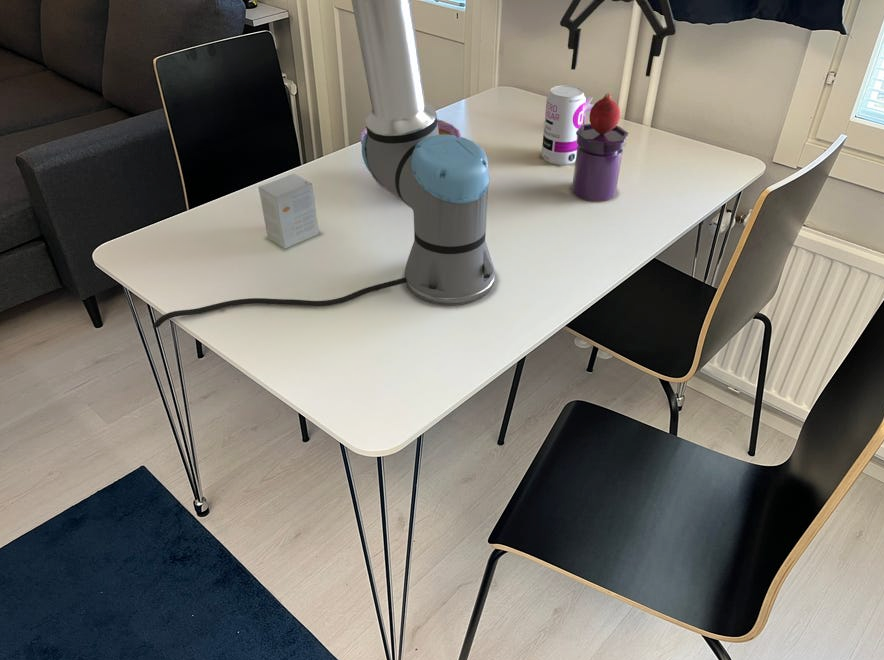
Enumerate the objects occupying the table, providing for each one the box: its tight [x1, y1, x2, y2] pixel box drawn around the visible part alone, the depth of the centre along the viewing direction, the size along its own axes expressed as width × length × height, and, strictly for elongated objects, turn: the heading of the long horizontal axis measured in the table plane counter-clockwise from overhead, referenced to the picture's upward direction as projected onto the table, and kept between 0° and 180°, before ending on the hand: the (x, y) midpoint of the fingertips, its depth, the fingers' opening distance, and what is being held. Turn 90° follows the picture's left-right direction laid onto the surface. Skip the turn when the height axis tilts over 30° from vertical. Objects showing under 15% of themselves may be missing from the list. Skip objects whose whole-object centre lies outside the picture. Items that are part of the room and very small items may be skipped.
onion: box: [588, 92, 621, 135], centre depth 138 cm, size 6×6×8 cm
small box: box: [258, 173, 320, 250], centre depth 130 cm, size 8×6×10 cm
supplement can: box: [541, 84, 586, 166], centre depth 156 cm, size 8×8×15 cm
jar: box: [571, 123, 629, 202], centre depth 145 cm, size 10×10×13 cm
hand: (610, 71), depth 133 cm, fingers open, 13 cm apart
